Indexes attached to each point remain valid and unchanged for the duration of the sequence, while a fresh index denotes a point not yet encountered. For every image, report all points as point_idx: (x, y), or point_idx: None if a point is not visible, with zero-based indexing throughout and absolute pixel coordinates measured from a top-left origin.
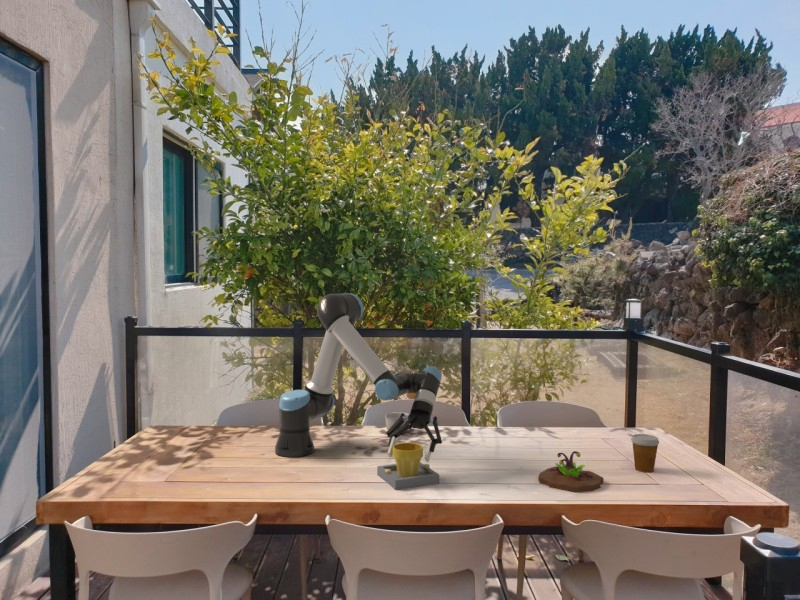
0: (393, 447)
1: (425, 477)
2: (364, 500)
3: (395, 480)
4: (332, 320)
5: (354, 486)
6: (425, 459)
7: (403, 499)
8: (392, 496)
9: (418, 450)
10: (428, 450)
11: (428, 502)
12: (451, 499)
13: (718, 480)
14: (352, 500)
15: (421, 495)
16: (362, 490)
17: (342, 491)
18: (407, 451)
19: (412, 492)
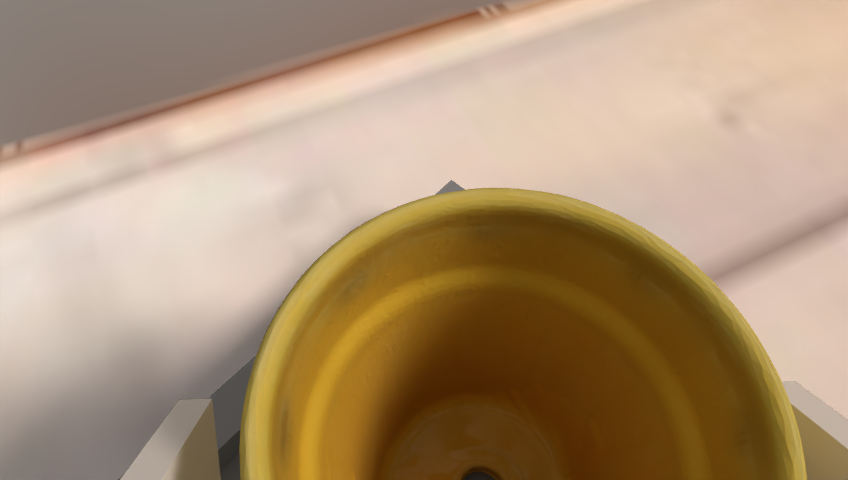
0: (700, 270)
1: (234, 379)
2: (527, 26)
3: (450, 181)
4: None
5: (733, 169)
6: (216, 446)
7: (325, 105)
8: (409, 119)
9: (276, 313)
10: (128, 475)
11: (160, 119)
12: (4, 212)
13: None
14: (584, 8)
15: (231, 198)
16: (636, 132)
17: (727, 80)
18: (416, 200)
19: (309, 222)
